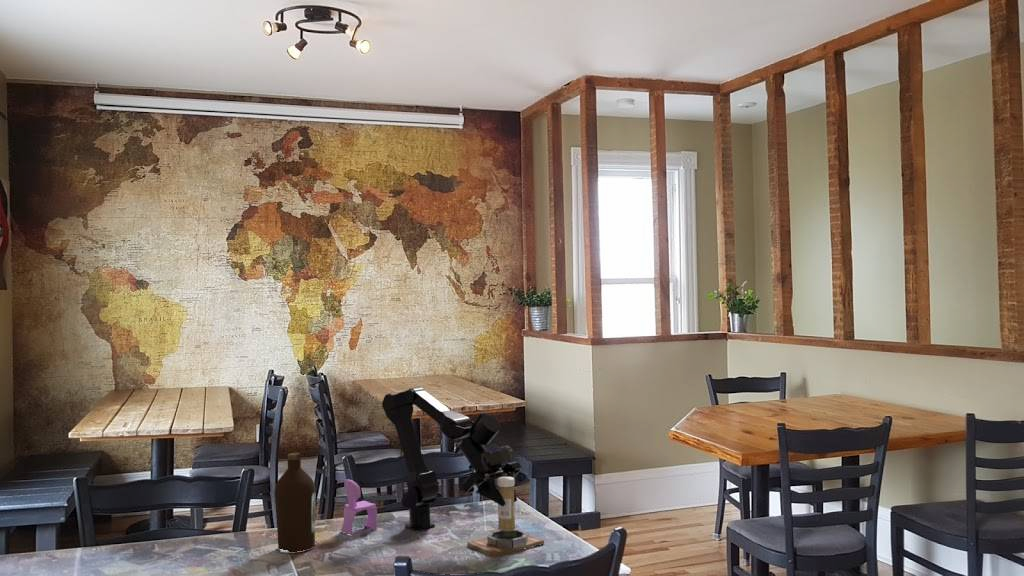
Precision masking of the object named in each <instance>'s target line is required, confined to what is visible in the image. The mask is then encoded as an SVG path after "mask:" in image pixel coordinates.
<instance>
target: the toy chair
mask: <svg viewBox="0 0 1024 576" xmlns="http://www.w3.org/2000/svg"><path fill="white" fill-rule="evenodd" d="M343 486H344V490H345V491H346V497H347V502H348V503H346V504H344V508H343V522H342V525H341V529H340V531H342V532H345V533H347V534H350V535H352V536H353V524H354V519H355V516H356V514H357V513H359V512H362V511H364V510H366V512H367V519H366V521H365V524H364V527H365V526H367V527H366V528H368V527H370V528H372V529H371V530H373V529H375V530H374V531H378V519H377V518H378V508H377V507H376V506H377V504H376V503H371V502H369V501H367V500H361V501H358V499H359V498H361V495H362V494H361V488H360V485H358V483H357V482H355V481H354V480H352V479H349V478H347V479H345V481H344V485H343ZM370 528H369V529H370Z"/></svg>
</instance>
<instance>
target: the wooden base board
mask: <svg viewBox="0 0 1024 576" xmlns="http://www.w3.org/2000/svg"><path fill="white" fill-rule="evenodd" d="M466 544H467V547H468V548H470V549H473V550H476V551H478V552H480V553H483V554H484V555H487V556H490V557H493V558H496V557H500V556H503V555H507V554H511V553H512V554H513V553H514V552H515V551H516V552H520V551H523V550H522V549H524V548H528V549H530V548H529V547H532V546H536V545H540V544H544V545H545V540H543V539H541V538H539V537H536V536H533V535H530V534H528V541H527V543H526V545H524V546H520V547H516V548H495V547H493V546H490V545H488V540H487V537H485V538H480V539H475V540H471V541H468V542H467V543H466ZM540 546H541V545H540ZM536 547H537V546H536ZM532 548H533V547H532ZM519 550H520V551H519ZM524 550H525V549H524ZM516 552H515V553H516Z"/></svg>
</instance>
